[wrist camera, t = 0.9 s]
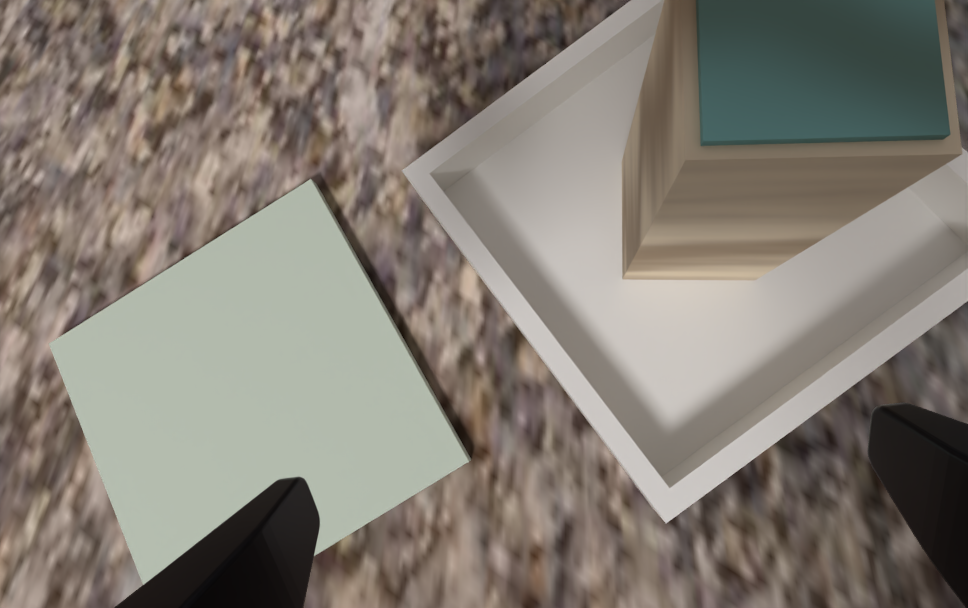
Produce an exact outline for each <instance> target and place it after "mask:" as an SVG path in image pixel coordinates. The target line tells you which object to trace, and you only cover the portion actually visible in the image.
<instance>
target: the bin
mask: <svg viewBox="0 0 968 608" xmlns="http://www.w3.org/2000/svg"><path fill="white" fill-rule="evenodd" d="M663 4H664V0H631V1H629V2H628V3H627V4H625V5H624V6H623V7H621V8H620V9H619V10H617V11H616V12H614V13H613V14H612V15H610V16H609V17H608V18H606V19H605V20H604V21H602V22H601V23H600V24H598V25H597V26H596V27H594V28H593V29H592V30H590V31H589V32H588V33H586V34H585V35H584V36H582V37H581V38H580V39H578V40H577V41H575V42H574V43H573V44H571V45H570V46H569V47H567V48H566V49H565V50H563V51H562V52H561V53H559V54H558V55H557V56H555V57H554V58H553V59H551V60H550V61H549V62H547V63H546V64H545V65H543V66H542V67H541V68H539V69H538V70H537V71H535V72H534V73H532V74H531V75H530V76H528V77H527V78H526V79H524V80H523V81H522V82H520V83H519V84H518V85H516V86H515V87H514V88H512V89H511V90H510V91H508V92H507V93H506V94H504V95H503V96H502V97H500V98H499V99H498V100H496V101H495V102H493V103H492V104H491V105H489V106H488V107H487V108H485V109H484V110H483V111H481V112H480V113H479V114H477V115H476V116H475V117H473V118H472V119H471V120H469V121H468V122H467V123H465V124H464V125H463V126H461V127H460V128H459V129H457V130H456V131H454V132H453V133H452V134H450V135H449V136H448V137H446V138H445V139H444V140H442V141H441V142H440V143H438V144H437V145H436V146H434V147H433V148H432V149H430V150H429V151H428V152H426V153H425V154H424V155H422V156H421V157H420V158H418V159H417V160H415V161H414V162H413V163H411V164H410V165H409V166H407V167H406V168H405V169H403V170H402V172H403V173H404V175H405V176H406V177H407V179H408V180H409V182H410V183H411V185H412V186H413V188H414V189H415V191H416V192H417V194H418V195H419V196H420V198H421V199H422V200H423V202H424V203H425V204H426V206H427V207H428V208H429V210H430V211H431V212H432V214H433V215H434V216H435V218H436V219H437V220H438V222H439V223H440V224H441V226H442V227H443V228H444V230H445V231H446V232H447V234H448V235H449V236H450V238H451V239H452V240H453V242H454V243H455V244H456V246H457V247H458V248H459V250H460V251H461V252H462V254H463V255H464V256H465V258H466V259H467V260H468V262H469V263H470V264H471V266H472V267H473V268H474V270H475V271H476V272H477V274H478V275H479V276H480V278H481V279H482V280H483V282H484V283H485V284H486V286H487V287H488V289H489V290H490V291H491V293H492V294H493V295H494V297H495V298H496V299H497V301H498V302H499V303H500V305H501V306H502V307H503V309H504V310H505V311H506V313H507V314H508V315H509V317H510V318H511V319H512V321H513V322H514V323H515V325H516V326H517V327H518V329H519V330H520V331H521V333H522V334H523V335H524V337H525V338H526V339H527V341H528V342H529V343H530V345H531V346H532V347H533V349H534V350H535V351H536V353H537V354H538V355H539V357H540V358H541V359H542V361H543V362H544V363H545V365H546V366H547V367H548V369H549V370H550V371H551V373H552V374H553V375H554V377H555V378H556V379H557V381H558V382H559V383H560V385H561V386H562V387H563V389H564V390H565V391H566V393H567V394H568V395H569V397H570V398H571V399H572V401H573V402H574V403H575V405H576V406H577V407H578V409H579V410H580V412H581V413H582V414H583V416H584V417H585V418H586V420H587V421H588V422H589V424H590V425H591V426H592V428H593V429H594V430H595V432H596V433H597V434H598V436H599V437H600V438H601V440H602V441H603V442H604V444H605V445H606V446H607V448H608V449H609V450H610V452H611V453H612V454H613V456H614V457H615V458H616V460H617V461H618V462H619V464H620V465H621V466H622V468H623V469H624V470H625V472H626V473H627V474H628V476H629V477H630V478H631V480H632V481H633V482H634V484H635V485H636V486H637V488H638V489H639V490H640V492H641V493H642V494H643V496H644V497H645V498H646V500H647V501H648V502H649V504H650V505H651V506H652V508H653V509H654V510H655V511H656V512H657V514H658V515H659V516H660V517H661V518H662V519H663V521H664V522H665V523H667V522H669V521H670V520H671V519H673V518H674V517H675V516H677V515H678V514H679V513H681V512H682V511H684V510H685V509H686V508H688V507H689V506H690V505H692V504H693V503H694V502H696V501H697V500H698V499H700V498H701V497H703V496H704V495H705V494H707V493H708V492H709V491H711V490H712V489H713V488H715V487H716V486H717V485H719V484H720V483H722V482H723V481H724V480H726V479H727V478H728V477H730V476H731V475H732V474H734V473H735V472H736V471H738V470H739V469H741V468H742V467H743V466H745V465H746V464H747V463H749V462H750V461H751V460H753V459H754V458H755V457H757V456H758V455H760V454H761V453H762V452H764V451H765V450H766V449H768V448H769V447H770V446H772V445H773V444H774V443H776V442H777V441H778V440H780V439H781V438H783V437H784V436H785V435H787V434H788V433H789V432H791V431H792V430H793V429H795V428H796V427H797V426H799V425H800V424H802V423H803V422H804V421H806V420H807V419H808V418H810V417H811V416H812V415H814V414H815V413H816V412H818V411H819V410H821V409H822V408H823V407H825V406H826V405H827V404H829V403H830V402H831V401H833V400H834V399H835V398H837V397H838V396H840V395H841V394H842V393H844V392H845V391H846V390H848V389H849V388H850V387H852V386H853V385H854V384H856V383H857V382H859V381H860V380H861V379H863V378H864V377H865V376H867V375H868V374H869V373H871V372H872V371H873V370H875V369H876V368H877V367H879V366H880V365H882V364H883V363H884V362H886V361H887V360H888V359H890V358H891V357H892V356H894V355H895V354H896V353H898V352H899V351H901V350H902V349H903V348H905V347H906V346H907V345H909V344H910V343H911V342H913V341H914V340H915V339H917V338H918V337H920V336H921V335H922V334H924V333H925V332H926V331H928V330H929V329H930V328H932V327H933V326H934V325H936V324H937V323H939V322H940V321H941V320H943V319H944V318H945V317H947V316H948V315H949V314H951V313H952V312H953V311H955V310H956V309H958V308H959V307H960V306H962V305H963V304H964V303H966V302H967V301H968V152H967V151H965V150H964V149H963V148H962V155H960V156H958V157H957V158H955V159H954V160H952V161H950V162H949V163H947V164H945V165H944V166H942V167H940V168H939V169H937V170H935V171H934V172H932V173H931V174H929V175H927V176H926V177H924V178H922V179H921V180H919V181H917V182H916V183H914V184H913V185H911V186H909V187H908V188H906V189H904V190H903V191H901V192H899V193H898V194H896V195H894V196H893V197H891V198H890V199H888V200H886V201H885V202H883V203H881V204H880V205H878V206H876V207H875V208H873V209H871V210H870V211H868V212H867V213H865V214H863V215H862V216H860V217H858V218H857V219H855V220H853V221H852V222H850V223H848V224H847V225H845V226H844V227H842V228H840V229H839V230H837V231H835V232H834V233H832V234H830V235H829V236H827V237H825V238H824V239H822V240H821V241H819V242H817V243H816V244H814V245H812V246H811V247H809V248H807V249H806V250H804V251H803V252H801V253H799V254H798V255H796V256H794V257H793V258H791V259H789V260H788V261H786V262H784V263H783V264H781V265H780V266H778V267H776V268H775V269H773V270H771V271H770V272H768V273H766V274H765V275H763V276H761V277H760V278H758V279H757V280H630V279H622V159H623V155H624V151H625V147H626V143H627V140H628V136H629V132H630V128H631V125H632V121H633V117H634V113H635V109H636V106H637V102H638V98H639V94H640V91H641V87H642V83H643V79H644V75H645V72H646V68H647V64H648V60H649V57H650V53H651V49H652V45H653V41H654V38H655V34H656V30H657V26H658V23H659V19H660V15H661V11H662V7H663Z"/></svg>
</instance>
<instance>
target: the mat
mask: <svg viewBox="0 0 968 608" xmlns="http://www.w3.org/2000/svg"><path fill="white" fill-rule="evenodd" d="M49 345H50V348H51V350H52V353H53V355H54V358H55V361H56V363H57V366H58V368H59V371H60V373H61V376H62V378H63V381H64V384H65V386H66V389H67V391H68V394H69V396H70V399H71V401H72V404H73V407H74V409H75V412H76V414H77V417H78V419H79V422H80V424H81V427H82V430H83V432H84V435H85V437H86V440H87V442H88V445H89V447H90V450H91V453H92V455H93V458H94V460H95V463H96V465H97V468H98V470H99V473H100V476H101V478H102V481H103V483H104V486H105V488H106V491H107V493H108V496H109V499H110V501H111V504H112V506H113V509H114V511H115V514H116V516H117V519H118V522H119V524H120V527H121V529H122V532H123V534H124V537H125V539H126V542H127V545H128V547H129V550H130V552H131V555H132V557H133V560H134V562H135V565H136V567H137V570H138V573H139V575H140V578H141V580H142V583H143V585H144V584H145V583H146V582H148V581H149V580H150V579H152V578H153V577H154V576H155V575H157V574H158V573H159V572H160V571H162V570H163V569H164V568H166V567H167V566H168V565H169V564H171V563H172V562H173V561H175V560H176V559H177V558H178V557H180V556H181V555H182V554H183V553H185V552H186V551H187V550H189V549H190V548H191V547H192V546H194V545H195V544H196V543H197V542H199V541H200V540H201V539H203V538H204V537H205V536H206V535H208V534H209V533H210V532H212V531H213V530H214V529H215V528H217V527H218V526H219V525H220V524H222V523H223V522H224V521H226V520H227V519H228V518H229V517H231V516H232V515H233V514H234V513H236V512H237V511H238V510H240V509H241V508H242V507H243V506H245V505H246V504H247V503H249V502H250V501H251V500H252V499H254V498H255V497H256V496H257V495H259V494H260V493H261V492H263V491H264V490H265V489H266V488H268V487H269V486H270V485H271V484H273V483H274V482H275V481H277V480H279V479H283V478H291V477H302V478H304V479H305V480H306V482H307V484H308V486H309V489H310V491H311V494H312V496H313V499H314V502H315V504H316V507H317V509H318V512H319V517H320V528H319V534H318V539H317V543H316V548H315V553H314V556H315V555H316V554H318V553H320V552H321V551H323V550H325V549H326V548H328V547H329V546H331V545H333V544H334V543H336V542H338V541H339V540H341V539H343V538H344V537H346V536H348V535H349V534H351V533H352V532H354V531H356V530H357V529H359V528H361V527H362V526H364V525H366V524H367V523H369V522H370V521H372V520H374V519H375V518H377V517H379V516H380V515H382V514H384V513H385V512H387V511H389V510H390V509H392V508H393V507H395V506H397V505H398V504H400V503H402V502H403V501H405V500H407V499H408V498H410V497H412V496H413V495H415V494H416V493H418V492H420V491H421V490H423V489H425V488H426V487H428V486H430V485H431V484H433V483H435V482H436V481H438V480H439V479H441V478H443V477H444V476H446V475H448V474H449V473H451V472H453V471H454V470H456V469H457V468H459V467H461V466H462V465H464V464H466V463H467V462H469V461H470V460H471V458H470V456H469V455H468V453H467V451H466V449H465V448H464V446H463V444H462V442H461V440H460V439H459V437H458V435H457V433H456V431H455V430H454V428H453V426H452V424H451V423H450V421H449V419H448V417H447V415H446V414H445V412H444V410H443V408H442V407H441V405H440V403H439V401H438V399H437V398H436V396H435V394H434V392H433V390H432V389H431V387H430V385H429V383H428V382H427V380H426V378H425V376H424V374H423V373H422V371H421V369H420V367H419V366H418V364H417V362H416V360H415V358H414V357H413V355H412V353H411V351H410V350H409V348H408V346H407V344H406V342H405V341H404V339H403V337H402V335H401V333H400V332H399V330H398V328H397V326H396V325H395V323H394V321H393V319H392V317H391V316H390V314H389V312H388V310H387V309H386V307H385V305H384V303H383V301H382V300H381V298H380V296H379V294H378V292H377V291H376V289H375V287H374V285H373V284H372V282H371V280H370V278H369V276H368V275H367V273H366V271H365V269H364V268H363V266H362V264H361V262H360V260H359V259H358V257H357V255H356V253H355V251H354V250H353V248H352V246H351V244H350V243H349V241H348V239H347V237H346V235H345V234H344V232H343V230H342V228H341V227H340V225H339V223H338V221H337V219H336V218H335V216H334V214H333V212H332V210H331V209H330V207H329V205H328V203H327V202H326V200H325V198H324V196H323V194H322V193H321V191H320V189H319V187H318V186H317V184H316V183H315V182H314V181H313V180H311V179H310V180H308V181H307V182H305V183H304V184H302V185H300V186H299V187H297V188H296V189H294V190H293V191H291V192H289V193H288V194H286V195H285V196H283V197H281V198H280V199H278V200H277V201H275V202H273V203H272V204H270V205H269V206H267V207H266V208H264V209H262V210H261V211H259V212H258V213H256V214H254V215H253V216H251V217H250V218H248V219H246V220H245V221H243V222H242V223H240V224H238V225H237V226H235V227H234V228H232V229H231V230H229V231H227V232H226V233H224V234H223V235H221V236H219V237H218V238H216V239H215V240H213V241H211V242H210V243H208V244H207V245H205V246H204V247H202V248H200V249H199V250H197V251H196V252H194V253H192V254H191V255H189V256H188V257H186V258H184V259H183V260H181V261H180V262H178V263H177V264H175V265H173V266H172V267H170V268H169V269H167V270H165V271H164V272H162V273H161V274H159V275H157V276H156V277H154V278H153V279H151V280H149V281H148V282H146V283H145V284H143V285H142V286H140V287H138V288H137V289H135V290H134V291H132V292H130V293H129V294H127V295H126V296H124V297H122V298H121V299H119V300H118V301H116V302H115V303H113V304H111V305H110V306H108V307H107V308H105V309H103V310H102V311H100V312H99V313H97V314H95V315H94V316H92V317H91V318H89V319H88V320H86V321H84V322H83V323H81V324H80V325H78V326H76V327H75V328H73V329H72V330H70V331H68V332H67V333H65V334H64V335H62V336H61V337H59V338H57V339H56V340H54V341H53V342H51V343H49Z"/></svg>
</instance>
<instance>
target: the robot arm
mask: <svg viewBox="0 0 968 608" xmlns="http://www.w3.org/2000/svg"><path fill="white" fill-rule="evenodd" d="M868 457H869V460H870V463H871V465H872V467H873V469H874V471H875V472H876V474H877V475H878V477H879V479H880V480H881V482H882V484H883V485H884V487H885V488H886V490H887V492H888V493H889V495H890V497H891V498H892V500H893V501H894V503H895V505H896V506H897V508H898V510H899V511H900V513H901V514H902V516H903V518H904V519H905V521H906V523H907V524H908V526H909V527H910V529H911V531H912V532H913V534H914V536H915V537H916V539H917V540H918V542H919V544H920V545H921V547H922V548H923V550H924V551H925V553H926V554H927V556H928V557H929V559H930V560H931V562H932V563H933V565H934V566H935V567H936V569H937V570H938V571H939V573H940V574H941V576H942V577H943V578H944V580H945V581H946V582H947V583H948V585H949V586H950V587H951V589H952V590H953V591H954V593H955V594H956V595H957V597H958V598H959V599H960V601H961V602H962V603H963V605H964V606H965V607H966V608H968V424H966V423H963V422H960V421H957V420H954V419H952V418H949V417H946V416H943V415H940V414H938V413H935V412H932V411H929V410H926V409H923V408H921V407H918V406H915V405H912V404H909V403H894V404H886V405H879V406H877V407H875V408H874V410H873V411H872V415H871V422H870V432H869V441H868ZM319 528H320V517H319V512H318V509H317V507H316V504H315V502H314V499H313V496H312V494H311V491H310V489H309V486H308V484H307V482H306V480H305V479H304V478H302V477H291V478H283V479H279V480H277V481H275V482H274V483H273V484H271V485H270V486H269V487H268V488H266V489H265V490H264V491H263V492H261V493H260V494H259V495H257V496H256V497H255V498H254V499H252V500H251V501H250V502H249V503H247V504H246V505H245V506H243V507H242V508H241V509H240V510H238V511H237V512H236V513H234V514H233V515H232V516H231V517H229V518H228V519H227V520H226V521H224V522H223V523H222V524H220V525H219V526H218V527H217V528H215V529H214V530H213V531H212V532H210V533H209V534H208V535H206V536H205V537H204V538H203V539H201V540H200V541H199V542H197V543H196V544H195V545H194V546H192V547H191V548H190V549H189V550H187V551H186V552H185V553H183V554H182V555H181V556H180V557H178V558H177V559H176V560H175V561H173V562H172V563H171V564H169V565H168V566H167V567H166V568H164V569H163V570H162V571H160V572H159V573H158V574H157V575H155V576H154V577H153V578H152V579H150V580H149V581H148V582H146V583H145V584H144V585H143V586H141V587H140V588H139V589H138V590H136V591H135V592H134V593H132V594H131V595H130V596H129V597H127V598H126V599H125V600H123V601H122V602H121V603H120V604H118V605H117V606H116V607H115V608H303V606H304V602H305V597H306V592H307V587H308V582H309V577H310V572H311V568H312V563H313V558H314V553H315V548H316V543H317V539H318V534H319Z"/></svg>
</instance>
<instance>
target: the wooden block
mask: <svg viewBox="0 0 968 608" xmlns="http://www.w3.org/2000/svg"><path fill="white" fill-rule="evenodd" d="M960 155H962V146H961V138H960V129H959V121H958V113H957V104H956V96H955V88H954V79H953V71H952V63H951V55H950V46H949V38H948V30H947V21H946V13H945V5H944V0H664V4H663V7H662V11H661V15H660V19H659V23H658V26H657V30H656V34H655V38H654V41H653V45H652V49H651V53H650V57H649V60H648V64H647V68H646V72H645V75H644V79H643V83H642V87H641V91H640V94H639V98H638V102H637V106H636V109H635V113H634V117H633V121H632V125H631V128H630V132H629V136H628V140H627V143H626V147H625V151H624V155H623V159H622V279H630V280H757V279H758V278H760V277H761V276H763V275H765V274H766V273H768V272H770V271H771V270H773V269H775V268H776V267H778V266H780V265H781V264H783V263H784V262H786V261H788V260H789V259H791V258H793V257H794V256H796V255H798V254H799V253H801V252H803V251H804V250H806V249H807V248H809V247H811V246H812V245H814V244H816V243H817V242H819V241H821V240H822V239H824V238H825V237H827V236H829V235H830V234H832V233H834V232H835V231H837V230H839V229H840V228H842V227H844V226H845V225H847V224H848V223H850V222H852V221H853V220H855V219H857V218H858V217H860V216H862V215H863V214H865V213H867V212H868V211H870V210H871V209H873V208H875V207H876V206H878V205H880V204H881V203H883V202H885V201H886V200H888V199H890V198H891V197H893V196H894V195H896V194H898V193H899V192H901V191H903V190H904V189H906V188H908V187H909V186H911V185H913V184H914V183H916V182H917V181H919V180H921V179H922V178H924V177H926V176H927V175H929V174H931V173H932V172H934V171H935V170H937V169H939V168H940V167H942V166H944V165H945V164H947V163H949V162H950V161H952V160H954V159H955V158H957V157H958V156H960Z"/></svg>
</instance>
